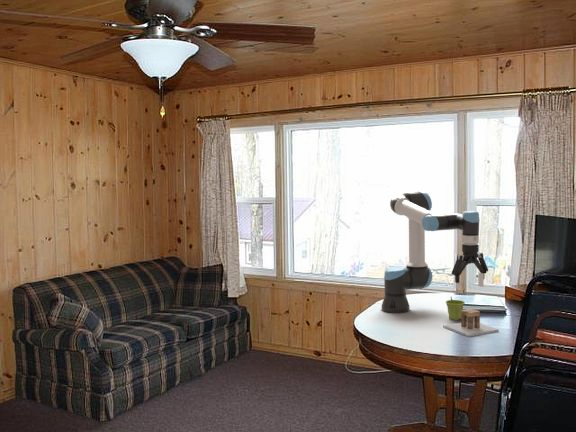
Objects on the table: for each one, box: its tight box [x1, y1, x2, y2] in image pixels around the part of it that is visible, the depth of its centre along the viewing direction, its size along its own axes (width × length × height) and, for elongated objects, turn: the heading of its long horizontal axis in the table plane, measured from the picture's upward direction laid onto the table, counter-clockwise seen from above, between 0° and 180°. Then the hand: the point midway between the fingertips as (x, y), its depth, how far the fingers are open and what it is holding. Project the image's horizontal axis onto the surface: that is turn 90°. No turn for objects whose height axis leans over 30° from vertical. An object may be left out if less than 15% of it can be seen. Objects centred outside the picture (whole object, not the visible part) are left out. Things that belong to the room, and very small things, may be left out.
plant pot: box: [445, 299, 466, 321], centre depth 294 cm, size 9×9×9 cm
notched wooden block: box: [460, 308, 481, 329], centre depth 273 cm, size 6×6×8 cm
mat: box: [442, 321, 499, 338], centre depth 274 cm, size 18×18×1 cm
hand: (469, 287), depth 273 cm, fingers open, 13 cm apart
